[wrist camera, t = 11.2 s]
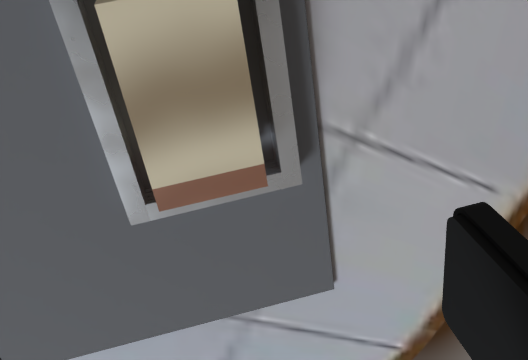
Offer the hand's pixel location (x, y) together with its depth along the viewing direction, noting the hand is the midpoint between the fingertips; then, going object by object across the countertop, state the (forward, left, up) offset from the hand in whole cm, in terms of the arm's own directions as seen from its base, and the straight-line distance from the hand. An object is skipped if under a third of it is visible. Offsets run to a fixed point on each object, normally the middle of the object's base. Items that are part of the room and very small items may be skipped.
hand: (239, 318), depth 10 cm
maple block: (0, 0, -16) cm, 16 cm away
